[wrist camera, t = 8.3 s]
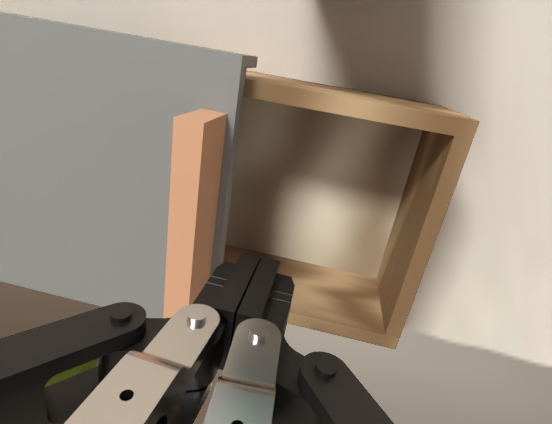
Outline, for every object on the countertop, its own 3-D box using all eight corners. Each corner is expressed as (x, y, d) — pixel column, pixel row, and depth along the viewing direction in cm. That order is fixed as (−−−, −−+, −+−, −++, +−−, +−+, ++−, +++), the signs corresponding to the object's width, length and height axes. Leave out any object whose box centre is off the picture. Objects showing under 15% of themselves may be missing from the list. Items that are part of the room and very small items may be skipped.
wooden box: (440, 105, 23) (479, 121, 16) (383, 283, 28) (395, 349, 21) (161, 55, 24) (96, 51, 18) (155, 231, 29) (102, 278, 23)
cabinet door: (257, 56, 18) (221, 52, 13) (225, 303, 24) (190, 373, 19) (-82, -3, 20) (-242, -29, 15) (-36, 240, 26) (-138, 287, 20)
